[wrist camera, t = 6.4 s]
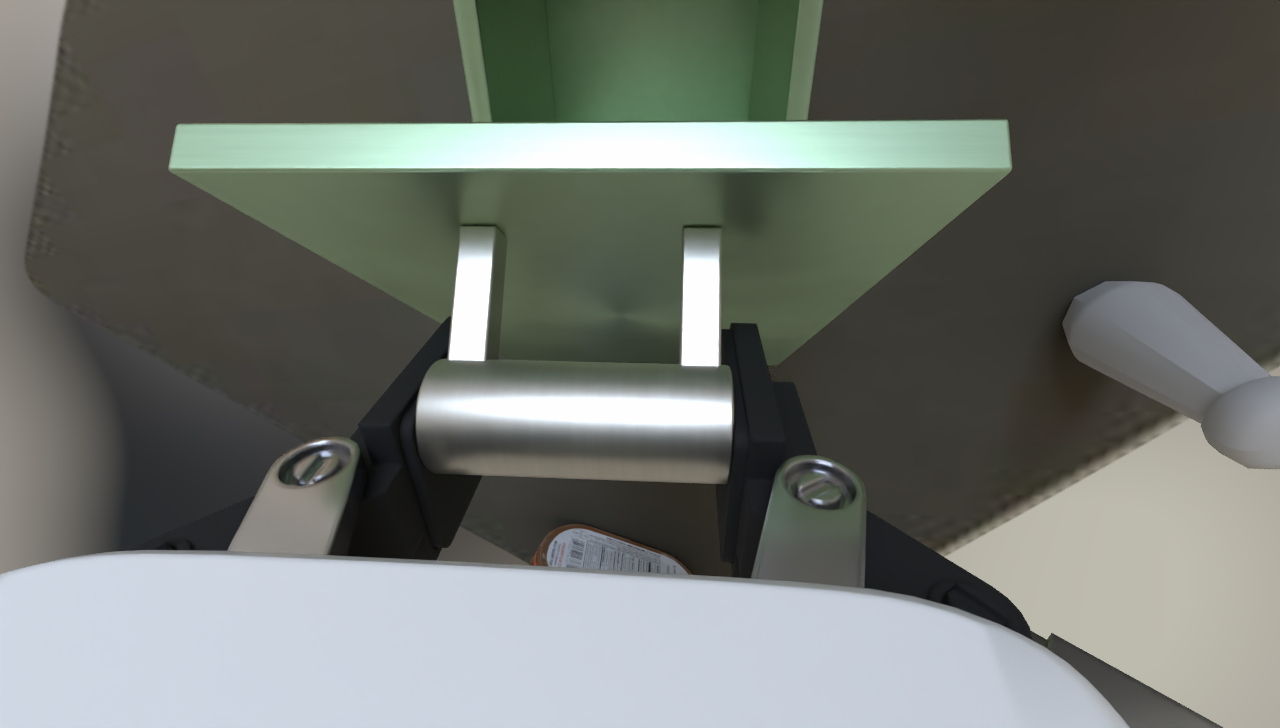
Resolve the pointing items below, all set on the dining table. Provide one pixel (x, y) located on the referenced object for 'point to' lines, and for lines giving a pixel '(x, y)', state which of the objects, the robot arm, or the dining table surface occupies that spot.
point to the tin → (601, 552)
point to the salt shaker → (1179, 365)
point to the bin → (638, 59)
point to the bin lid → (601, 260)
